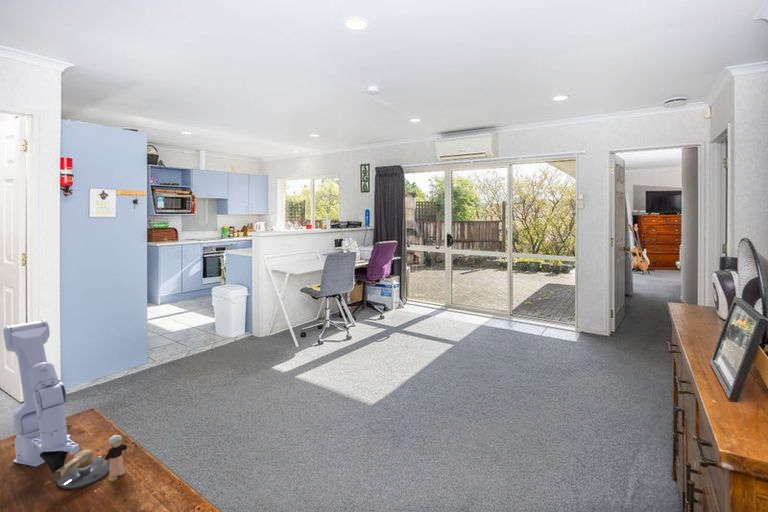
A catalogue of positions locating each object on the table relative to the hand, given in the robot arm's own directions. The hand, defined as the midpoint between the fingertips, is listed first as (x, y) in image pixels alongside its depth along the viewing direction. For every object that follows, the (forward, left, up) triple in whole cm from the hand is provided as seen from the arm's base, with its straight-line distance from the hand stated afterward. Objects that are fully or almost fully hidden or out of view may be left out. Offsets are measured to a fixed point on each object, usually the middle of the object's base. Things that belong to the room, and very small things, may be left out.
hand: (57, 472), depth 115 cm
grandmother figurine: (+12, +9, -5) cm, 15 cm away
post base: (+2, +7, -5) cm, 8 cm away
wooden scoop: (+2, +3, -1) cm, 4 cm away
